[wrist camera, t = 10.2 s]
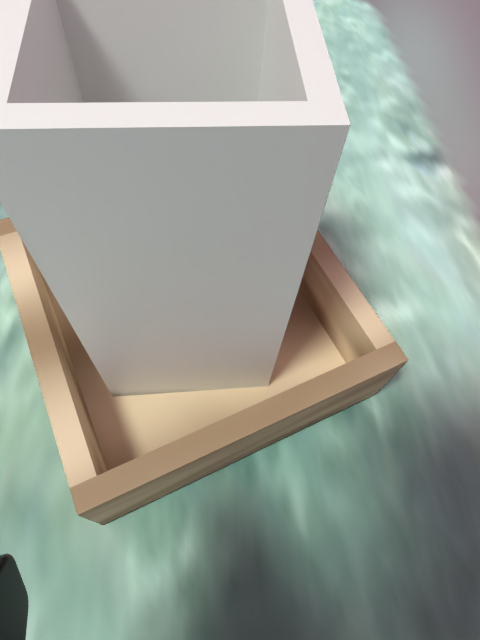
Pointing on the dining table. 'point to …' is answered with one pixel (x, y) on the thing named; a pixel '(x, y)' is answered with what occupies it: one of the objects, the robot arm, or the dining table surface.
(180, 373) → the white square vase
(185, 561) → the dining table surface
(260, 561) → the dining table surface
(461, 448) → the dining table surface
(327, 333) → the tray
